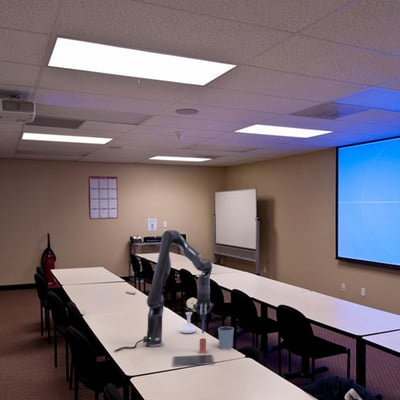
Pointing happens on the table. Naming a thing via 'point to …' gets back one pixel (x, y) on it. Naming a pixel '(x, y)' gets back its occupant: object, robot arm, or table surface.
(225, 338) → the blue-grey tapered bin
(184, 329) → the flower in vase
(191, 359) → the tablet
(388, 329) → the table surface
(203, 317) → the stylus
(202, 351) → the pen pot
